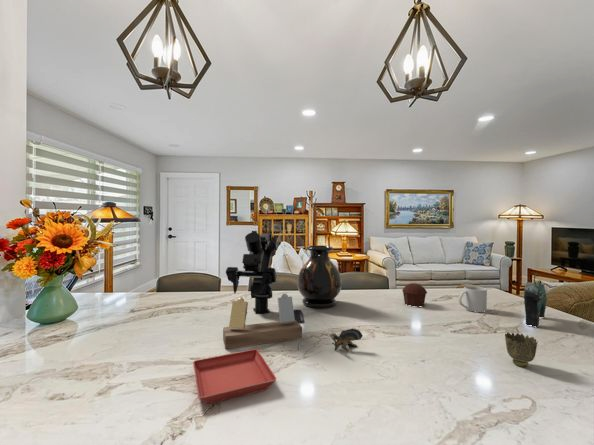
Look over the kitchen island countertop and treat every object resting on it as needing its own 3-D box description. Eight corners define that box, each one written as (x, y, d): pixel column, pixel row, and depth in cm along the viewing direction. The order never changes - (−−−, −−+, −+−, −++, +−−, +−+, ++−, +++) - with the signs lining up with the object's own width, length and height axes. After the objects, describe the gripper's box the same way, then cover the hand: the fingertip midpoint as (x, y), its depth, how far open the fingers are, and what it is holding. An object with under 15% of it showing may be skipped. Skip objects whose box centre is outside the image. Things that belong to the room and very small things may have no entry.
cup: (539, 374, 79) (539, 344, 79) (505, 367, 83) (506, 338, 83) (534, 363, 85) (535, 335, 85) (503, 356, 89) (504, 330, 89)
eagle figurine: (347, 354, 87) (367, 342, 92) (335, 331, 90) (356, 320, 95) (334, 358, 93) (354, 347, 98) (324, 337, 96) (344, 326, 101)
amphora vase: (344, 311, 132) (345, 249, 131) (296, 310, 132) (297, 248, 132) (338, 298, 153) (338, 244, 153) (297, 297, 154) (297, 244, 153)
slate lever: (279, 323, 104) (276, 294, 108) (293, 321, 106) (289, 293, 110) (281, 322, 102) (278, 293, 106) (295, 320, 104) (291, 292, 108)
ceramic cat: (539, 330, 111) (540, 277, 110) (518, 325, 116) (519, 274, 115) (549, 318, 124) (550, 271, 124) (530, 314, 129) (530, 269, 128)
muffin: (400, 300, 150) (400, 281, 149) (422, 301, 148) (423, 281, 148) (405, 307, 138) (405, 286, 138) (430, 308, 136) (430, 287, 136)
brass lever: (230, 327, 100) (235, 297, 104) (245, 328, 99) (248, 298, 103) (228, 327, 98) (233, 296, 102) (242, 327, 97) (247, 297, 101)
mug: (486, 308, 136) (486, 287, 136) (486, 314, 128) (486, 291, 128) (459, 305, 142) (460, 284, 142) (458, 310, 134) (458, 288, 134)
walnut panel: (223, 339, 101) (223, 327, 101) (294, 330, 109) (294, 319, 109) (225, 348, 93) (225, 336, 93) (302, 338, 102) (302, 327, 101)
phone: (301, 309, 131) (304, 321, 116) (301, 312, 131) (304, 324, 116) (283, 310, 131) (284, 321, 116) (283, 312, 131) (284, 324, 116)
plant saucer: (198, 412, 63) (198, 397, 63) (192, 372, 80) (192, 360, 80) (277, 393, 70) (277, 379, 70) (257, 359, 87) (257, 348, 87)
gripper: (227, 245, 113) (216, 278, 101) (275, 246, 111) (269, 279, 100) (233, 264, 120) (223, 297, 109) (278, 265, 119) (273, 298, 107)
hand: (246, 293), depth 106 cm, fingers open, 9 cm apart
